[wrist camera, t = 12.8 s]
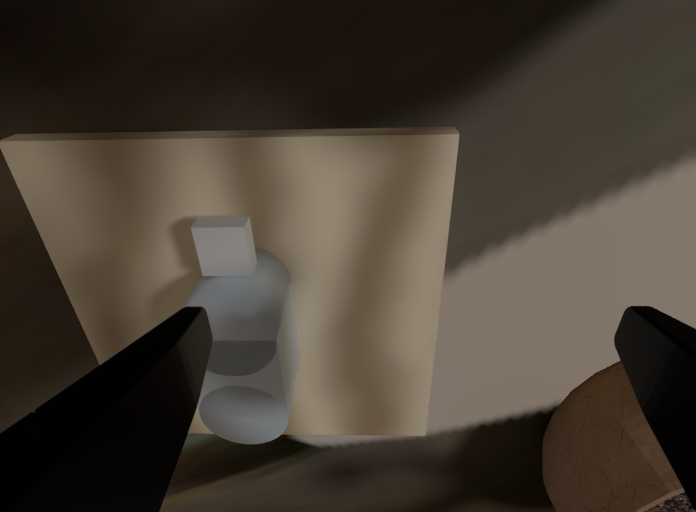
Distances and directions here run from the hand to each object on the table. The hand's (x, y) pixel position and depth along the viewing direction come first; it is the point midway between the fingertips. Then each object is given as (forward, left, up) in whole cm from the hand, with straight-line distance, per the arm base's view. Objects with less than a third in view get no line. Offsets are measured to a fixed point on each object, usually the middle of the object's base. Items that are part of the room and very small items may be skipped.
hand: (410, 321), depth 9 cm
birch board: (+7, +9, -12) cm, 17 cm away
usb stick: (+7, +8, -11) cm, 15 cm away
